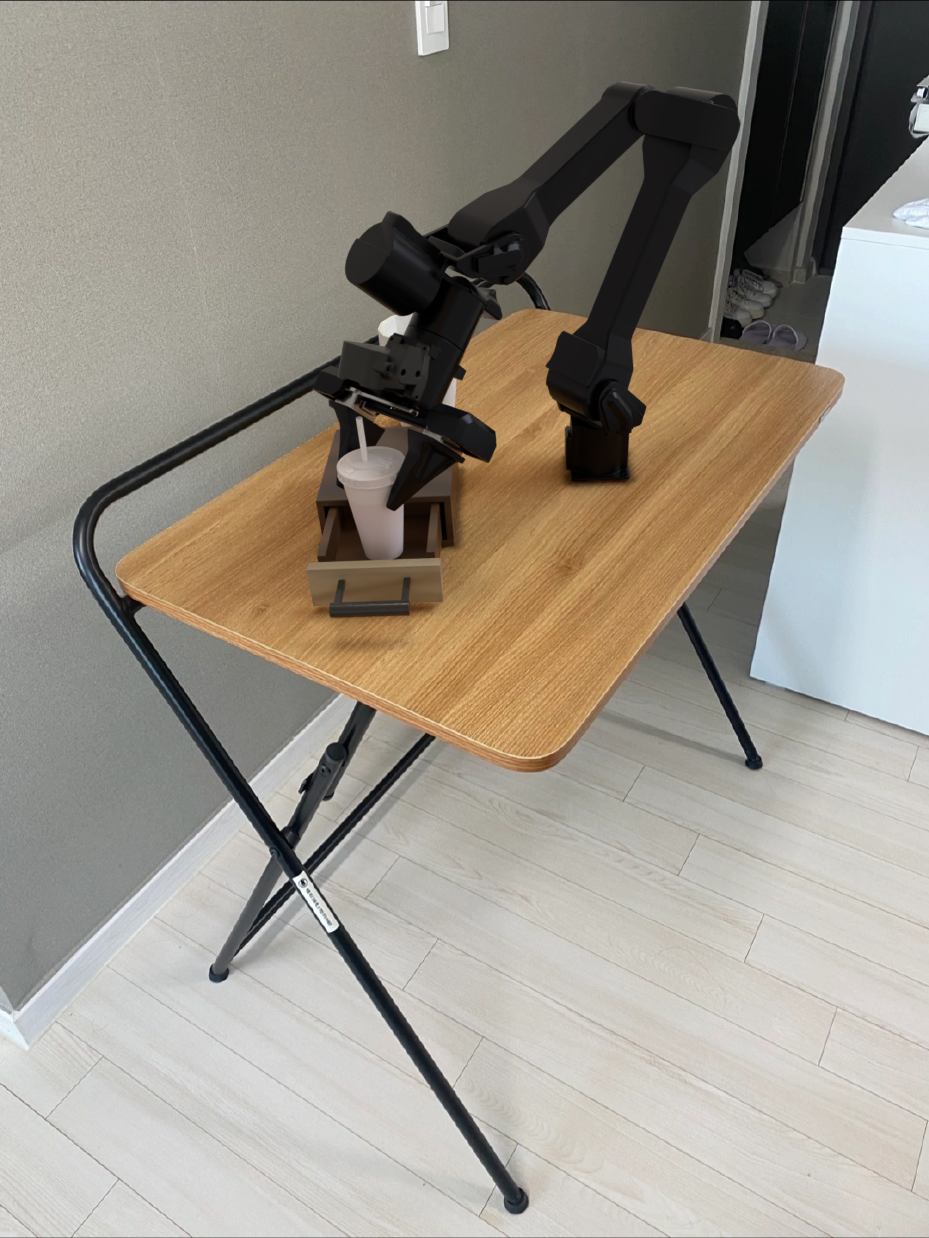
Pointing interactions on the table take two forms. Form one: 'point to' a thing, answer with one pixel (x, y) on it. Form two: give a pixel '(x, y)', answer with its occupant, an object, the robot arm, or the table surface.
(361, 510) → the smoothie
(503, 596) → the table surface
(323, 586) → the drawer
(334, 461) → the cabinet
